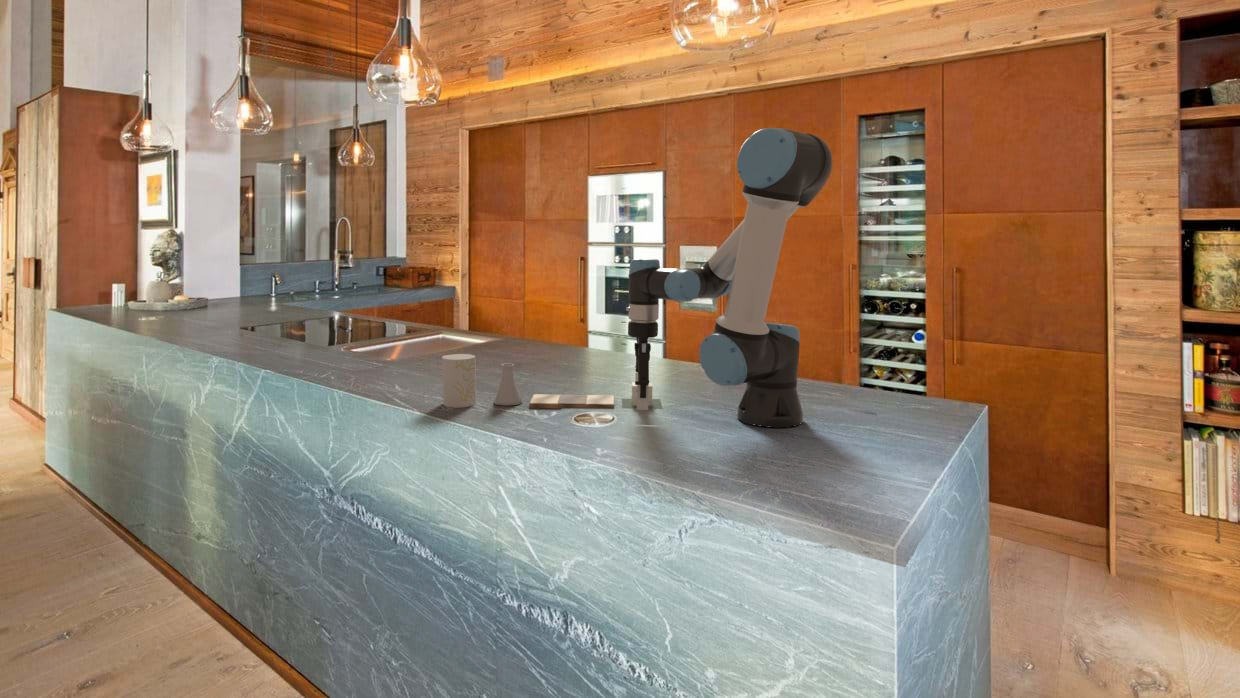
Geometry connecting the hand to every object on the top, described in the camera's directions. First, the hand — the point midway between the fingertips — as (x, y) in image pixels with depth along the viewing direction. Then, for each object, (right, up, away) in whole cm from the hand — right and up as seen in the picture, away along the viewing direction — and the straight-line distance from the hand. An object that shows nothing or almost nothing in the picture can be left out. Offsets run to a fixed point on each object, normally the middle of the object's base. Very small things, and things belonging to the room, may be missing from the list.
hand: (641, 403), depth 178 cm
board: (-17, 0, 0) cm, 17 cm away
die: (0, 0, 0) cm, 0 cm away
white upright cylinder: (-46, 0, -2) cm, 46 cm away
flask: (-34, 0, -1) cm, 34 cm away
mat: (0, 0, 0) cm, 0 cm away
